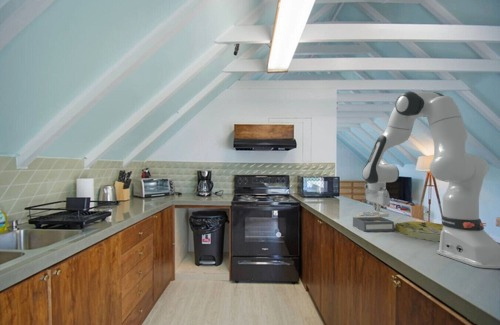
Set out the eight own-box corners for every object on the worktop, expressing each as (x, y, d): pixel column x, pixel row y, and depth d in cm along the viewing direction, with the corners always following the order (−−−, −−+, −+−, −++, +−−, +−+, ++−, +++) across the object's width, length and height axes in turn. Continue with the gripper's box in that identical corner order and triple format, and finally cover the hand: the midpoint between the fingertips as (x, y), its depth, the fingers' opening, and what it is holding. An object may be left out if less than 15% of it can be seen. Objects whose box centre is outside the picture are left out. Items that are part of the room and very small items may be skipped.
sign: (406, 233, 122) (390, 220, 151) (407, 240, 122) (391, 226, 151) (478, 237, 114) (447, 222, 143) (478, 244, 114) (447, 228, 143)
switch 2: (379, 214, 141) (379, 211, 141) (372, 214, 141) (371, 211, 141) (372, 215, 149) (372, 212, 149) (365, 215, 148) (365, 212, 149)
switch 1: (370, 215, 141) (370, 211, 141) (363, 215, 141) (362, 211, 141) (363, 215, 148) (363, 212, 149) (356, 216, 148) (356, 212, 149)
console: (394, 231, 138) (394, 221, 138) (364, 231, 137) (364, 222, 137) (380, 225, 152) (379, 216, 152) (352, 225, 152) (352, 216, 152)
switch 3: (388, 216, 141) (388, 213, 141) (381, 216, 141) (381, 213, 141) (380, 213, 149) (380, 210, 149) (373, 213, 149) (373, 210, 149)
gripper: (393, 188, 139) (393, 214, 139) (373, 185, 159) (373, 207, 159) (381, 188, 138) (381, 214, 139) (363, 185, 159) (363, 207, 159)
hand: (377, 211), depth 149 cm, fingers closed
